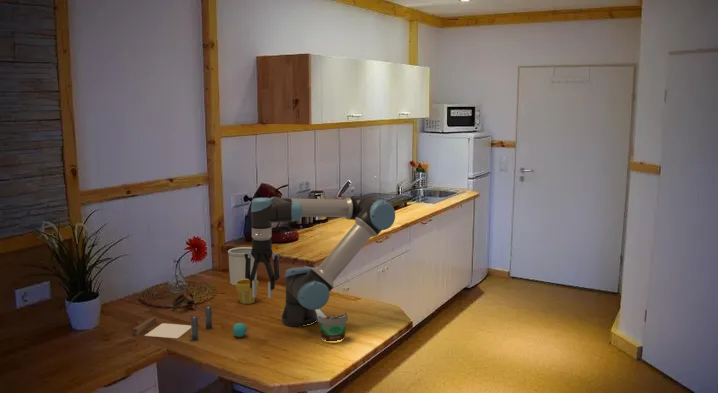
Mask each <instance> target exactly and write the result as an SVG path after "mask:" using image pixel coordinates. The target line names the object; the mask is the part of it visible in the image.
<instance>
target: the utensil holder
mask: <svg viewBox="0 0 718 393" xmlns="http://www.w3.org/2000/svg"><path fill="white" fill-rule="evenodd" d="M251 251H252V246H240V247H233V248H230V249H228V250H227V255H228V269H229V270H228V272H229V283H230V285H231V284H232V286H234V285H235V287H236V282H237V281H238V280H243V279H246V278H245V263H246V259H245V256H244V254H246V253H250V252H251ZM254 260H255V259H254V258H253V256H252V255H251V268H250V275H251V272H252V268H253V265H254ZM257 278H258V270H257V271H256V275H255V278H254V279H257Z"/></svg>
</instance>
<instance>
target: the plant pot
mask: <svg viewBox="0 0 718 393" xmlns="http://www.w3.org/2000/svg"><path fill="white" fill-rule="evenodd" d="M259 285H260V284H259V280H257V290H259ZM235 290H236V291H237V293H238V294H237V296H238V298H239V302H240V304H244V305H250V304H253V303H255V301H256V297H257V296H255V297H252V288H250V280H249V279H243V280H238V281H237V282H236V286H235Z"/></svg>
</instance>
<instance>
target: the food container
mask: <svg viewBox="0 0 718 393" xmlns="http://www.w3.org/2000/svg"><path fill="white" fill-rule="evenodd" d="M348 321H349V317H348V314H347V312H346V311H345V313H344V314H340V315H339V314H338V315H336V314H334V315H330V316H326V317H322V316H321V315H320V316H318V317H317V323H319V329H320V338H322V339H323V340H326V341H337V340H341V339H343V338H344V337H345V336H346V328H347V326H346V325H347V322H348ZM344 339H345V338H344Z"/></svg>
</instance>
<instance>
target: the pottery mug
mask: <svg viewBox="0 0 718 393" xmlns="http://www.w3.org/2000/svg"><path fill="white" fill-rule="evenodd" d="M171 304H172V308H173V309H174V310H177V309H178V308H182V304H184V305H185V304H186V305H187V306H191V308H192V310H193V312H195V311H196V309H197V305H196V303H195V300H194V295H193V293H191V292H189V293H181V294H179V295H178V296H177V297H175V298H174V299H173V300H172V301H171Z"/></svg>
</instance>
